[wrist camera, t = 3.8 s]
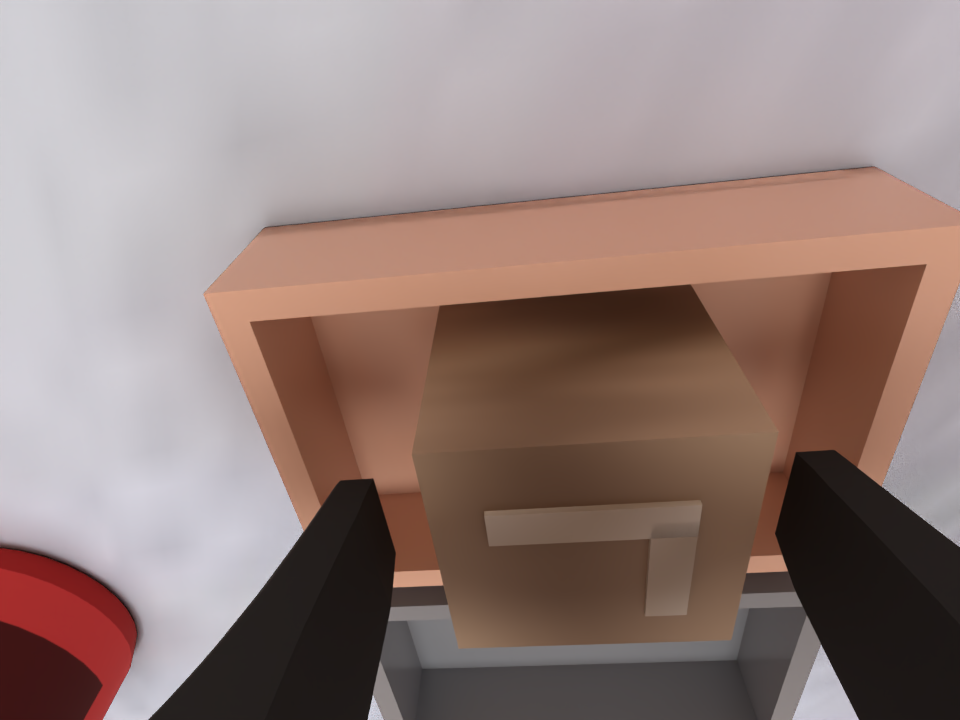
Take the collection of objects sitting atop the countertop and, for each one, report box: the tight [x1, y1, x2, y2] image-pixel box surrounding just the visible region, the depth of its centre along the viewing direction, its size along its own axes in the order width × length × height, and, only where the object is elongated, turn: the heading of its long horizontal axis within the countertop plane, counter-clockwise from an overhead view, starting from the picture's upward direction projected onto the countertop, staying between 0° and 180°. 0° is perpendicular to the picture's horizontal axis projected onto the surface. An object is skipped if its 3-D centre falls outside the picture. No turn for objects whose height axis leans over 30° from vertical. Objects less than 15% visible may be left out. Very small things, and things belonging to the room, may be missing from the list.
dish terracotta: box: [204, 167, 960, 587], centre depth 13 cm, size 12×8×3 cm
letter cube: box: [412, 284, 779, 649], centre depth 11 cm, size 5×5×5 cm
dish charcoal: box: [373, 571, 821, 720], centre depth 18 cm, size 12×8×3 cm
